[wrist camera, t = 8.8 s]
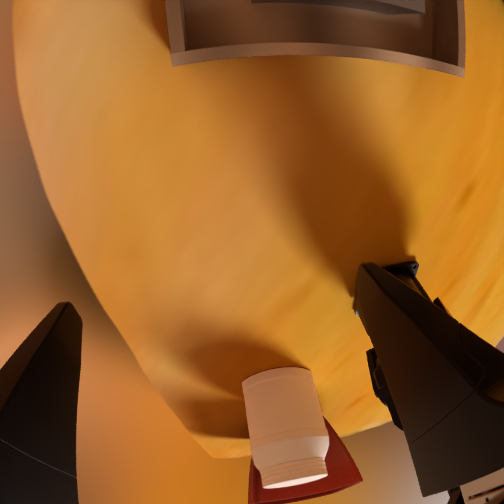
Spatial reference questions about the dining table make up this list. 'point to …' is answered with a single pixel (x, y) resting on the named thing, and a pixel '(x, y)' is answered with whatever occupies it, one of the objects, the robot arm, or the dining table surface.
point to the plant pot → (339, 478)
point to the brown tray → (316, 32)
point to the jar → (285, 427)
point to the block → (366, 5)
